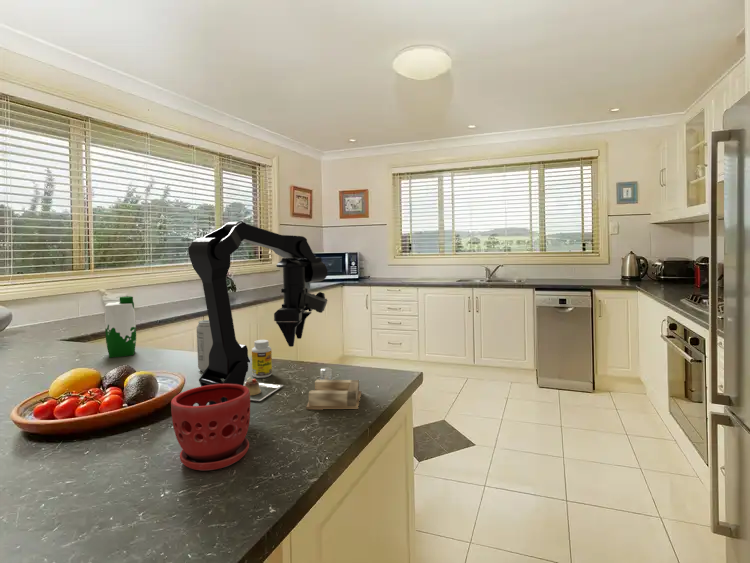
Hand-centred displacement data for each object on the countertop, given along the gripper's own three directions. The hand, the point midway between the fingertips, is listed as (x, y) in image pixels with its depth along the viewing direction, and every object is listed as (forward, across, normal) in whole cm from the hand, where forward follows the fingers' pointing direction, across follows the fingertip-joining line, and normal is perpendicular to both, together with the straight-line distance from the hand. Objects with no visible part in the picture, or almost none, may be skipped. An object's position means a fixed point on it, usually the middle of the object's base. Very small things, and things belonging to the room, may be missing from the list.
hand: (295, 342), depth 115 cm
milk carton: (+12, +31, +68) cm, 76 cm away
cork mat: (+12, -10, -12) cm, 20 cm away
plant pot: (+12, -39, +6) cm, 41 cm away
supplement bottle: (+12, +9, +12) cm, 19 cm away
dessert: (+13, -5, +10) cm, 17 cm away
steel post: (+12, +1, -8) cm, 14 cm away
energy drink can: (+12, +14, +30) cm, 35 cm away
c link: (+11, -10, -12) cm, 19 cm away
